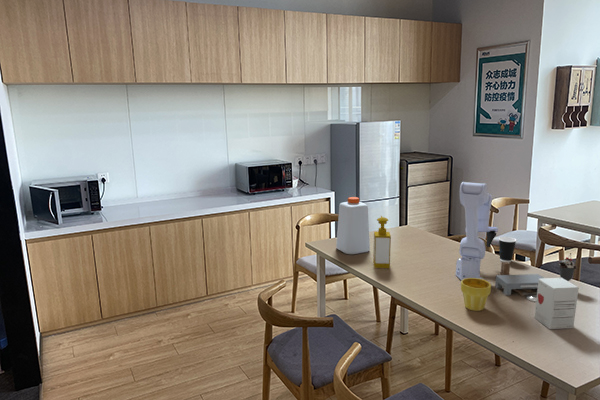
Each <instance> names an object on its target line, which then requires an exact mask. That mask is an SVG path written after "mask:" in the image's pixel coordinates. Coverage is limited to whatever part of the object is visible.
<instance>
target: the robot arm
mask: <svg viewBox="0 0 600 400" xmlns="http://www.w3.org/2000/svg"><path fill="white" fill-rule="evenodd" d="M459 201H460V202H459V203H460V205H462V206H463V208H464V212H465V214H464V215H465V230H464V231H465V233H466V234H465V235H466V236H465V237H463V238H461V241H460V242H459V243H460V244H459V255H460V258H457V260H456V263H455V264H456V265H455V274H454V275H455V276H456V277H457V278H458V279H459V280H460V282H461V281H462V280H463V279H466V278H479V279H483V277H481V276H480V274H481V273H480V272H481V262H482V261H481V260H483V259H484V258H485V255H486V247H488V248H490V247H491V244H492V242H493V240H494V239H495V237H496V236H497V233H499V232H498V231H499V227H496V226H490V225H489V222H490V210H491V209H492V203H493V195H492V194H491V193H488V185H487V183H485V182H484V183H479V182H469V181H468V182H467V181H462V182H461V183H460V186H459ZM479 233H486V243H485V241H484V239H481V238H480V237H479Z"/></svg>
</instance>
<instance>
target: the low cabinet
mask: <svg viewBox="0 0 600 400" xmlns="http://www.w3.org/2000/svg"><path fill="white" fill-rule="evenodd" d="M541 278H545V277H544V276H542V275H540V274H539V273H533V274H532V273H530V274H526V273H525V274H523V273H522V274H510V275H501V274H496V275H495V282H494V283H495V284H494V287H495V288H496V289H503V295H505V296H511V295H512V290H513V289H531V290H532V289H538V280H539V279H541Z"/></svg>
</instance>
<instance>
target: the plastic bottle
mask: <svg viewBox="0 0 600 400" xmlns="http://www.w3.org/2000/svg"><path fill="white" fill-rule="evenodd" d="M337 220H338V221H337V232H336V242H335V243H336V244H335V247H336V250H338V251H340V252H343V253H344V254H347V255H359V254H361V253H362V254H363V253H364V254H365V253H368V252H369V251H370V249H371V247H370V246H371V244H370V243H371V242H370V227H369V226H370V224H369V206H368V204H366V203H365V202H362V201H360V198H359V197H357V196H351V197H348V198H347V201H344V202H340V203H339V206H338V219H337Z"/></svg>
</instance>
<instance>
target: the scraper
mask: <svg viewBox="0 0 600 400" xmlns="http://www.w3.org/2000/svg"><path fill="white" fill-rule="evenodd" d="M510 267H511V262H502V261H501V264H500V275H511V274H510V270H511V269H510ZM512 290H513V291H515V292H516V293H517V294H519V295H520V296H522V297H523V298H527V295H530V294H532V295H537V291H533V290H532V289H512Z"/></svg>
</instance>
